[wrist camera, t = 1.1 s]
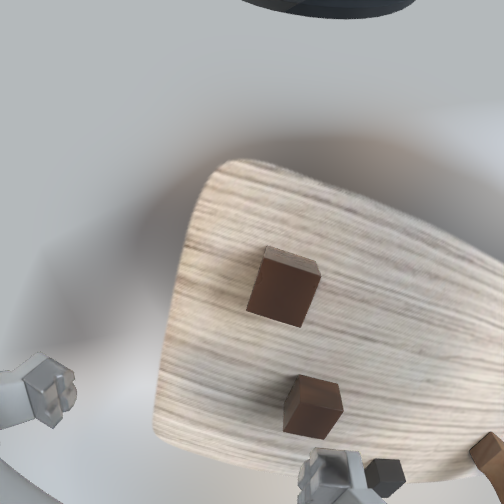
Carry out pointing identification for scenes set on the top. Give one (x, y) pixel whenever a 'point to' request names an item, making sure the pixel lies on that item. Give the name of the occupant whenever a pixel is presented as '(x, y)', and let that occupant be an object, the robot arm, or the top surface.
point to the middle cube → (312, 407)
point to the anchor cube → (384, 476)
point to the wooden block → (491, 461)
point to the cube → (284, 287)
